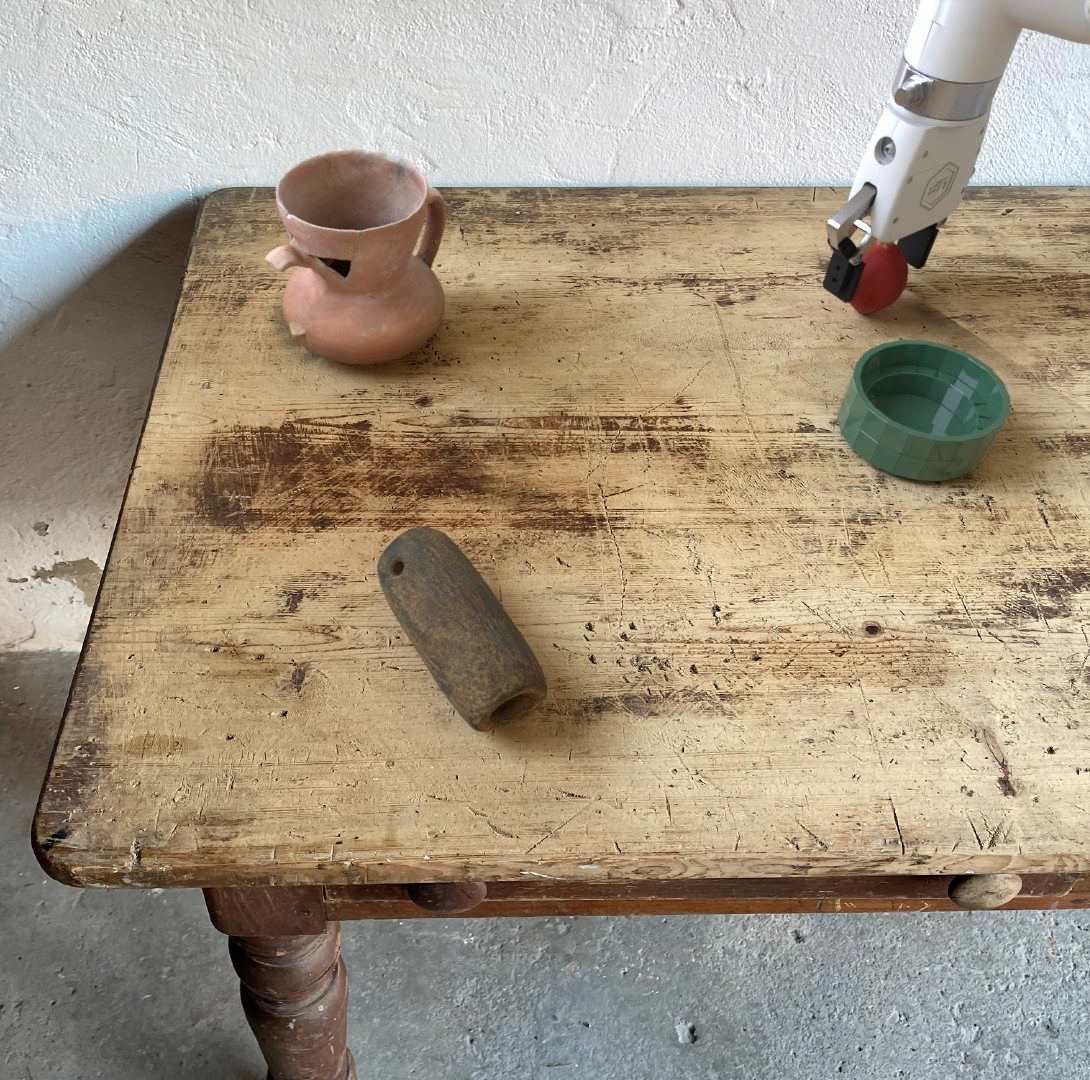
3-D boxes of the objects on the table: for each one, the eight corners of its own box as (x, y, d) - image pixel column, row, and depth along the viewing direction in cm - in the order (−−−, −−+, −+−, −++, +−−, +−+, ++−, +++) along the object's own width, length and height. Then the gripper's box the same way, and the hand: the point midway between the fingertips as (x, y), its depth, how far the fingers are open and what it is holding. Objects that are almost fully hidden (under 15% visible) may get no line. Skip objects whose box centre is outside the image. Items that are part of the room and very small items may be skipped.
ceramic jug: (334, 411, 85) (313, 266, 74) (246, 328, 92) (214, 183, 81) (496, 328, 92) (500, 184, 81) (403, 256, 99) (394, 114, 88)
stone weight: (362, 605, 73) (353, 546, 67) (443, 564, 75) (441, 504, 70) (476, 758, 65) (476, 704, 60) (562, 707, 68) (569, 651, 62)
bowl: (904, 368, 89) (924, 322, 85) (1015, 448, 83) (1043, 402, 79) (805, 419, 85) (822, 373, 81) (915, 507, 79) (939, 462, 75)
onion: (844, 285, 97) (871, 209, 90) (902, 307, 95) (932, 231, 88) (820, 315, 94) (845, 239, 87) (878, 338, 92) (908, 262, 85)
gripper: (904, 137, 73) (835, 332, 86) (1056, 76, 79) (968, 267, 92) (829, 94, 76) (774, 287, 90) (979, 39, 82) (906, 228, 96)
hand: (873, 277), depth 91 cm, fingers open, 8 cm apart
